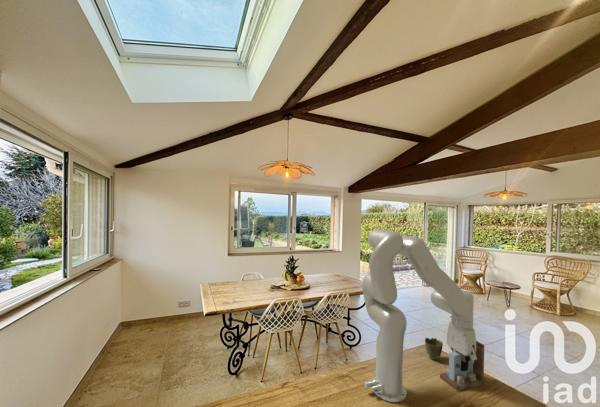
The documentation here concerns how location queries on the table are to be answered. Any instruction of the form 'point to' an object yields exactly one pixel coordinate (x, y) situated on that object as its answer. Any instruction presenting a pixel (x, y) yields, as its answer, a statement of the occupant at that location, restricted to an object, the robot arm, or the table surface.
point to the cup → (433, 348)
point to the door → (458, 366)
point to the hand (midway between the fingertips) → (461, 367)
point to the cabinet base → (474, 377)
